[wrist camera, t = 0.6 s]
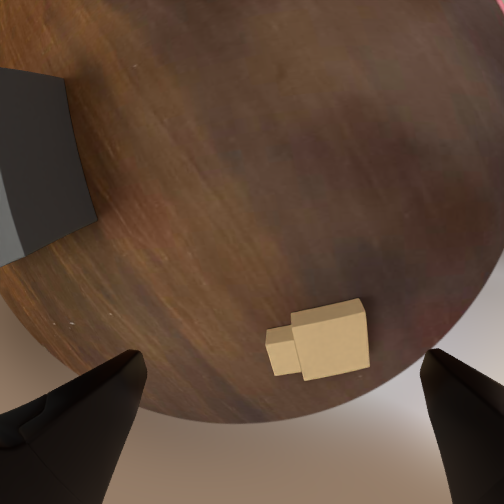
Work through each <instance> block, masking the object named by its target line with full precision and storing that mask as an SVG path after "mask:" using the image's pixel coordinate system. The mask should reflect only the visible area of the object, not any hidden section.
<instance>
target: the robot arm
mask: <svg viewBox="0 0 504 504" xmlns="http://www.w3.org/2000/svg"><path fill="white" fill-rule="evenodd" d="M420 378H421V382H422V387H423V391H424V395H425V400H426V405H427V409H428V414H429V417H430V421H431V423H432V427H433V430H434V433H435V437H436V440H437V443H438V447H439V450H440V454H441V457H442V461H443V465H444V468H445V472H446V476H447V481H448V485H449V489H450V493H451V498H452V502H453V504H504V386H503V385H501V384H500V383H498V382H496V381H494V380H493V379H491V378H489V377H488V376H486V375H484V374H482V373H481V372H479V371H477V370H476V369H474V368H472V367H470V366H468V365H467V364H465V363H463V362H462V361H460V360H458V359H456V358H455V357H453V356H451V355H449V354H448V353H446V352H444V351H443V350H441V349H439V348H436V349H429V350H428V351H427V352H426V354H425V357H424V360H423V363H422V366H421V369H420ZM146 379H147V368H146V365H145V362H144V358H143V355H142V353H141V352H140V351H139V350H131V349H129V350H127V351H125V352H123V353H121V354H119V355H118V356H116V357H114V358H112V359H110V360H108V361H107V362H105V363H103V364H101V365H99V366H97V367H96V368H94V369H92V370H90V371H88V372H86V373H84V374H83V375H81V376H79V377H77V378H75V379H74V380H71V381H70V382H68V383H66V384H64V385H62V386H60V387H58V388H56V389H54V390H52V391H51V392H49V393H48V394H45V395H43V396H41V397H39V398H37V399H35V400H33V401H31V402H29V403H27V404H25V405H22V406H20V407H18V408H15V409H13V410H10V411H8V412H5V413H3V414H0V504H102V502H103V499H104V496H105V493H106V491H107V488H108V486H109V483H110V480H111V478H112V474H113V472H114V470H115V467H116V464H117V461H118V459H119V456H120V454H121V451H122V449H123V446H124V444H125V441H126V438H127V436H128V434H129V431H130V429H131V426H132V424H133V421H134V419H135V416H136V413H137V410H138V407H139V403H140V400H141V396H142V392H143V389H144V385H145V382H146Z"/></svg>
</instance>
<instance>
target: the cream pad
mask: <svg viewBox="0 0 504 504" xmlns="http://www.w3.org/2000/svg"><path fill="white" fill-rule="evenodd" d="M265 346H266V349H267V352H268V355H269V359H270V362H271V365H272V368H273V371H274V375H275V376H279V375H285V374H291V373H297V372H301V371H302V374H303V378H304V381H307V380H312V379H317V378H323V377H328V376H332V375H337V374H342V373H346V372H351V371H355V370H359V369H363V368H367V367H370V363H369V347H368V333H367V321H366V312H365V310H364V307H363V305H362V303H361V301H360V299H359V298H357V299H353V300H349V301H344V302H340V303H335V304H331V305H327V306H322V307H317V308H313V309H308V310H303V311H298V312H293V313H291V325H288V326H283V327H277V328H272V329H267V334H266V344H265Z"/></svg>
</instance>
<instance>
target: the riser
mask: <svg viewBox="0 0 504 504" xmlns="http://www.w3.org/2000/svg"><path fill="white" fill-rule="evenodd" d="M96 221H97V217H96V214H95V211H94V208H93V204H92V201H91V198H90V194H89V191H88V188H87V184H86V181H85V177H84V173H83V170H82V166H81V162H80V158H79V154H78V150H77V146H76V141H75V137H74V132H73V128H72V123H71V118H70V113H69V108H68V102H67V96H66V90H65V84H64V79H63V78H59V77H54V76H49V75H44V74H39V73H33V72H28V71H21V70H15V69H8V68H1V67H0V267H2V266H4V265H7V264H9V263H11V262H14V261H16V260H18V259H21V258H23V257H25V256H27V255H29V254H31V253H33V252H35V251H37V250H39V249H40V248H42V247H44V246H46V245H48V244H50V243H52V242H54V241H56V240H58V239H60V238H62V237H64V236H66V235H68V234H70V233H72V232H74V231H77V230H79V229H81V228H83V227H85V226H87V225H89V224H91V223H94V222H96Z"/></svg>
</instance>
